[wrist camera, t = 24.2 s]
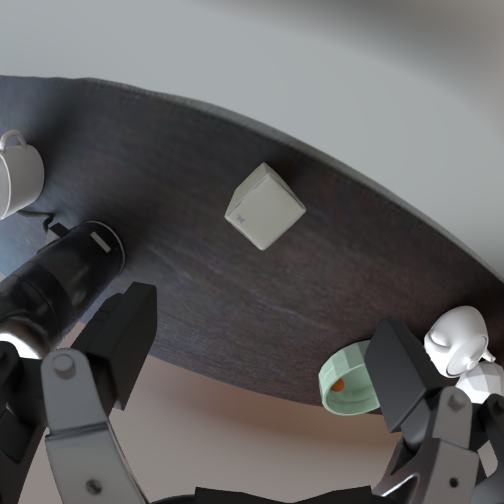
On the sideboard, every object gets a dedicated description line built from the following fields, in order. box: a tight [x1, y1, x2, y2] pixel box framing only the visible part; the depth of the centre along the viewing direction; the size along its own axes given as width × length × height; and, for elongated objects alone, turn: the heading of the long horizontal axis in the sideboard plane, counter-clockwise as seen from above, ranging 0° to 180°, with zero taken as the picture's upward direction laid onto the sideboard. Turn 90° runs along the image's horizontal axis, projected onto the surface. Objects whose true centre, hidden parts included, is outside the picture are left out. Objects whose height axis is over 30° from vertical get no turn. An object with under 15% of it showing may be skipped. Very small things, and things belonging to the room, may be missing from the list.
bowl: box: [319, 340, 380, 415], centre depth 43 cm, size 15×15×6 cm
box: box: [225, 163, 306, 250], centre depth 27 cm, size 5×4×13 cm
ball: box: [331, 378, 344, 392], centre depth 44 cm, size 3×3×3 cm
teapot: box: [424, 306, 495, 378], centre depth 37 cm, size 22×14×11 cm, turn 72°
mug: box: [0, 130, 44, 220], centre depth 28 cm, size 13×10×8 cm
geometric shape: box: [455, 360, 504, 404], centre depth 41 cm, size 14×15×15 cm
